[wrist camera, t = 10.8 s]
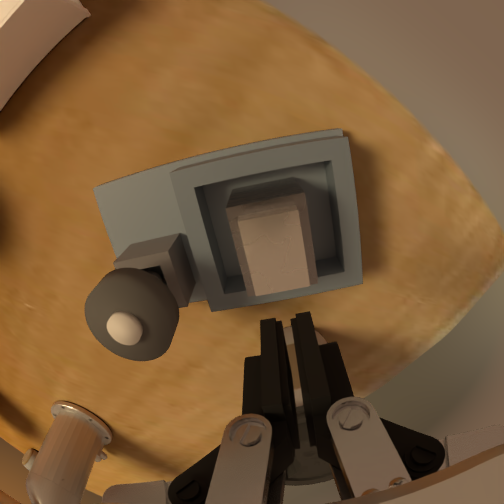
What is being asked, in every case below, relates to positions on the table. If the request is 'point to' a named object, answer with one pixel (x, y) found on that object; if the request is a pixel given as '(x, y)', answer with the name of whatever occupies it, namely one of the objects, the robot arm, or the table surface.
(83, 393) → the table surface
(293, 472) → the coffee cup
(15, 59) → the beige beam
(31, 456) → the ceramic mug
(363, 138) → the table surface
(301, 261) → the beige block
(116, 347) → the round knob on base
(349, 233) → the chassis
